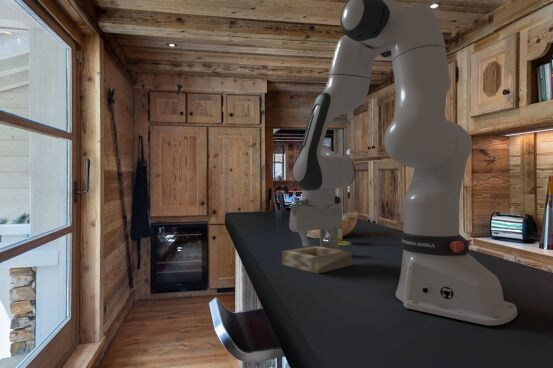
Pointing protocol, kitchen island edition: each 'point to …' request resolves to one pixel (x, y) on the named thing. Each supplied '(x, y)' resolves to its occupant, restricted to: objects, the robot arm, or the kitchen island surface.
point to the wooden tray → (317, 259)
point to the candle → (339, 193)
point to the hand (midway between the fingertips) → (316, 244)
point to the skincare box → (334, 239)
